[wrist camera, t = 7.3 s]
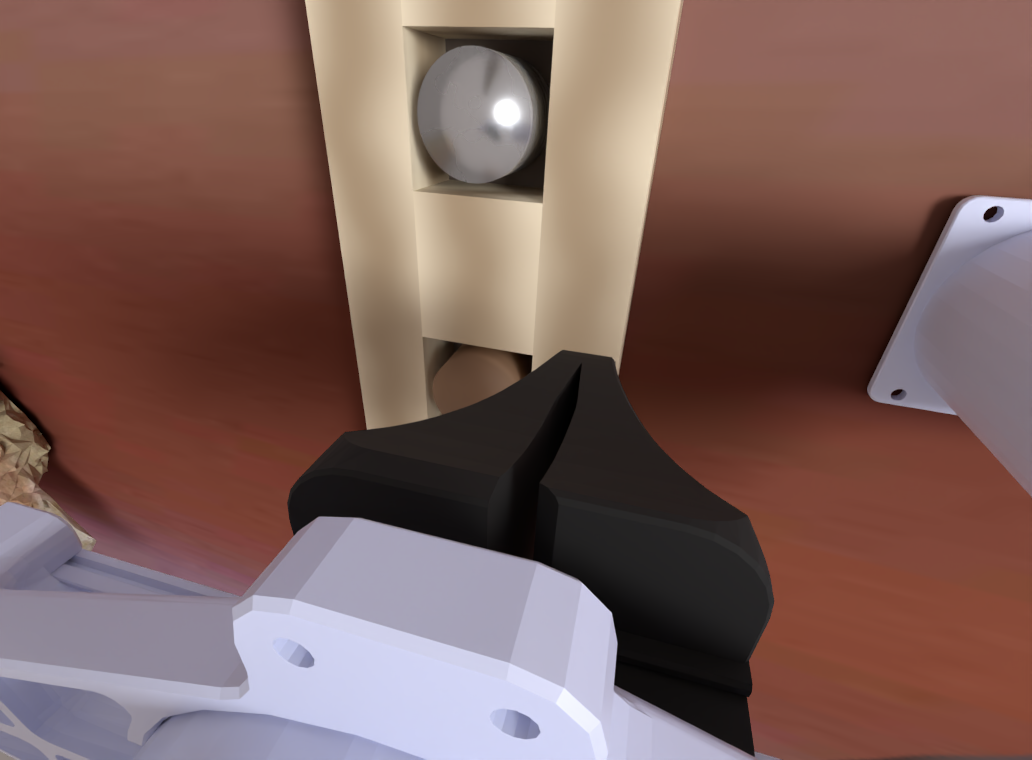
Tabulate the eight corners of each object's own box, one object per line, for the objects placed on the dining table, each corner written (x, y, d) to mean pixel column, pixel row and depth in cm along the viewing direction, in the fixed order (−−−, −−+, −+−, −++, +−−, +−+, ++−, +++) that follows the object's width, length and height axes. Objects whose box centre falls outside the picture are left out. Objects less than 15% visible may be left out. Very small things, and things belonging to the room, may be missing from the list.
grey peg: (558, 56, 17) (534, 46, 14) (549, 176, 19) (527, 188, 16) (454, 53, 18) (413, 44, 15) (457, 168, 20) (420, 178, 17)
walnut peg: (538, 334, 23) (518, 367, 20) (533, 404, 25) (514, 443, 22) (460, 322, 24) (430, 351, 21) (461, 390, 26) (434, 426, 23)
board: (703, -120, 14) (710, -178, 11) (600, 482, 26) (590, 529, 24) (351, -100, 17) (284, -143, 14) (404, 438, 29) (373, 475, 26)
